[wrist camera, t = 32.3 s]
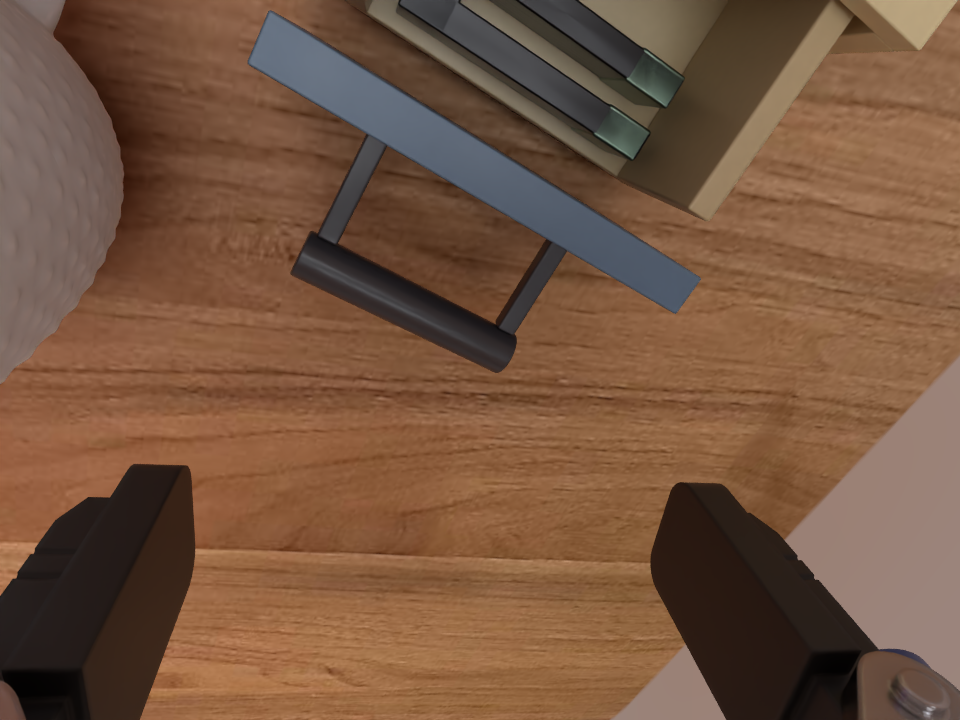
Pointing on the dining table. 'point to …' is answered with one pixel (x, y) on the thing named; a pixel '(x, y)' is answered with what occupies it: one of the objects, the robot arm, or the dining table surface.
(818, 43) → the drawer
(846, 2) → the cabinet
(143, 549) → the robot arm
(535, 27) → the black rectangular block
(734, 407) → the dining table surface
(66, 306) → the mug
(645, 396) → the dining table surface
